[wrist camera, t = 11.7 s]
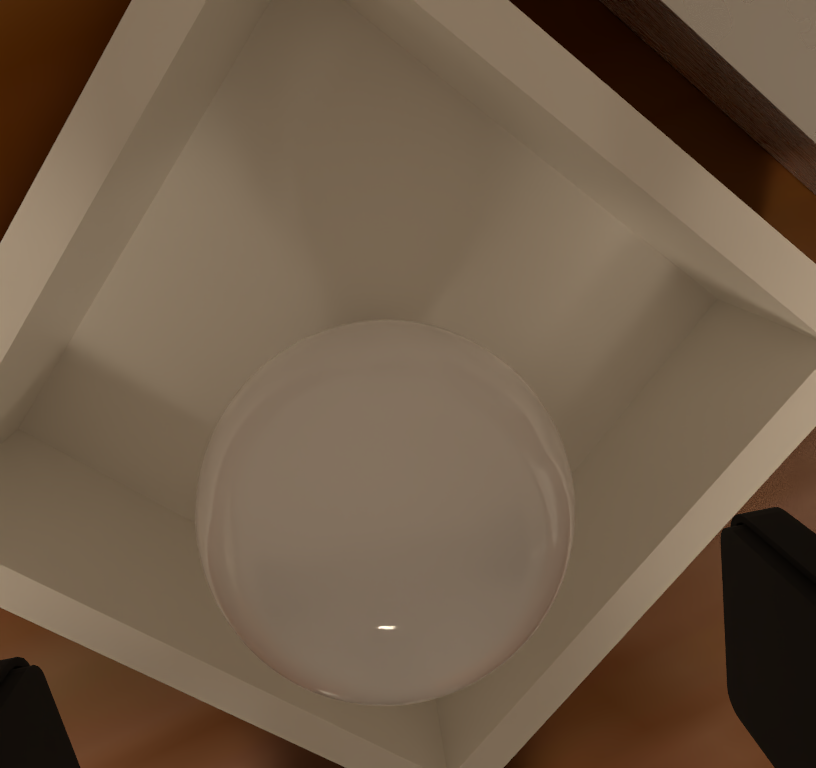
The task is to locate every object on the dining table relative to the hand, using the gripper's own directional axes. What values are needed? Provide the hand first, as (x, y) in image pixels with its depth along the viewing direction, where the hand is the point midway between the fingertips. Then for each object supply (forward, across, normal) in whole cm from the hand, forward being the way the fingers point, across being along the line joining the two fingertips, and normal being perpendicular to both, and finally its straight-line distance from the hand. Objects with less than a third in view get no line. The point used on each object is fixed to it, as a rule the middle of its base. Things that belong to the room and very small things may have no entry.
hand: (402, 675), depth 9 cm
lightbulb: (+11, 0, -1) cm, 11 cm away
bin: (+12, 0, -2) cm, 12 cm away
